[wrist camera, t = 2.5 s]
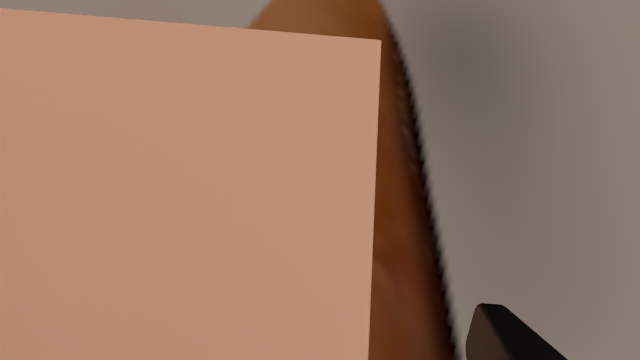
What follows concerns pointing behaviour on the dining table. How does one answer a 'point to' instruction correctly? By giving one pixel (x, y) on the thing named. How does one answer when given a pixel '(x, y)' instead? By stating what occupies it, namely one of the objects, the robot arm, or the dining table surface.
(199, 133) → the terracotta peg
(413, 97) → the dining table surface
